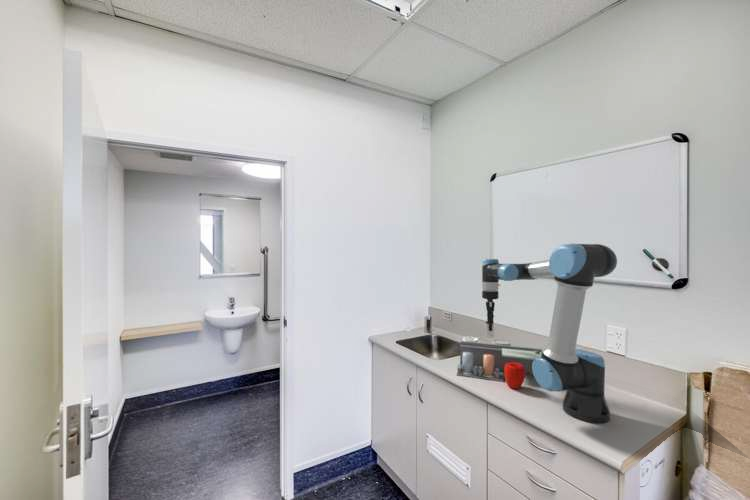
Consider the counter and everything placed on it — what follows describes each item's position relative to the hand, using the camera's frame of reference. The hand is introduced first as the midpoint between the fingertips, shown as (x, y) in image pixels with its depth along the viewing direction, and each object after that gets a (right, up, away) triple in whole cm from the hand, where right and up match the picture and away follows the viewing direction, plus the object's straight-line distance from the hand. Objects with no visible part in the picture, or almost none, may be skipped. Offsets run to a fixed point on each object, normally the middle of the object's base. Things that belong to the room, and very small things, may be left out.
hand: (490, 333), depth 159 cm
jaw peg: (-1, -20, 0) cm, 20 cm away
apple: (+6, -21, -13) cm, 25 cm away
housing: (+5, -21, +2) cm, 21 cm away
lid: (+15, -10, -2) cm, 18 cm away
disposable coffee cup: (+12, -21, +17) cm, 29 cm away
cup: (+1, -21, +31) cm, 37 cm away
